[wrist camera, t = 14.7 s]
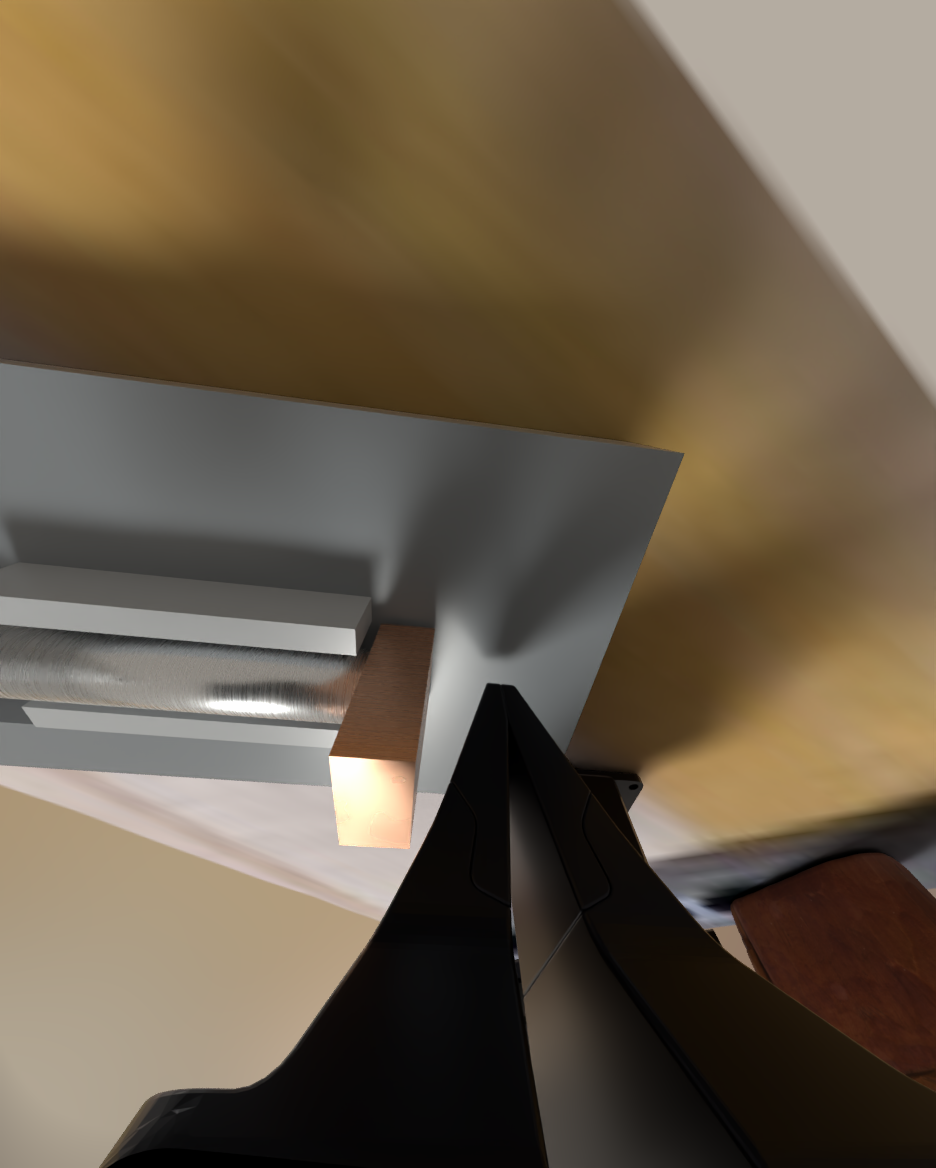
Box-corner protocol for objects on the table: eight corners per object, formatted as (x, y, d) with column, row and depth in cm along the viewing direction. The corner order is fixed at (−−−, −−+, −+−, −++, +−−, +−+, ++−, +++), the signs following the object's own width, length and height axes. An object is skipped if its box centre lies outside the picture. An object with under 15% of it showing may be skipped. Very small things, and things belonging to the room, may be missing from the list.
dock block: (533, 736, 16) (555, 842, 12) (-70, 690, 15) (-268, 795, 11) (626, 441, 10) (732, 462, 6) (-405, 304, 8) (-1184, 211, 4)
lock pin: (428, 701, 11) (409, 849, 7) (36, 669, 10) (-206, 815, 6) (435, 626, 9) (415, 762, 6) (-20, 583, 9) (-365, 707, 5)
